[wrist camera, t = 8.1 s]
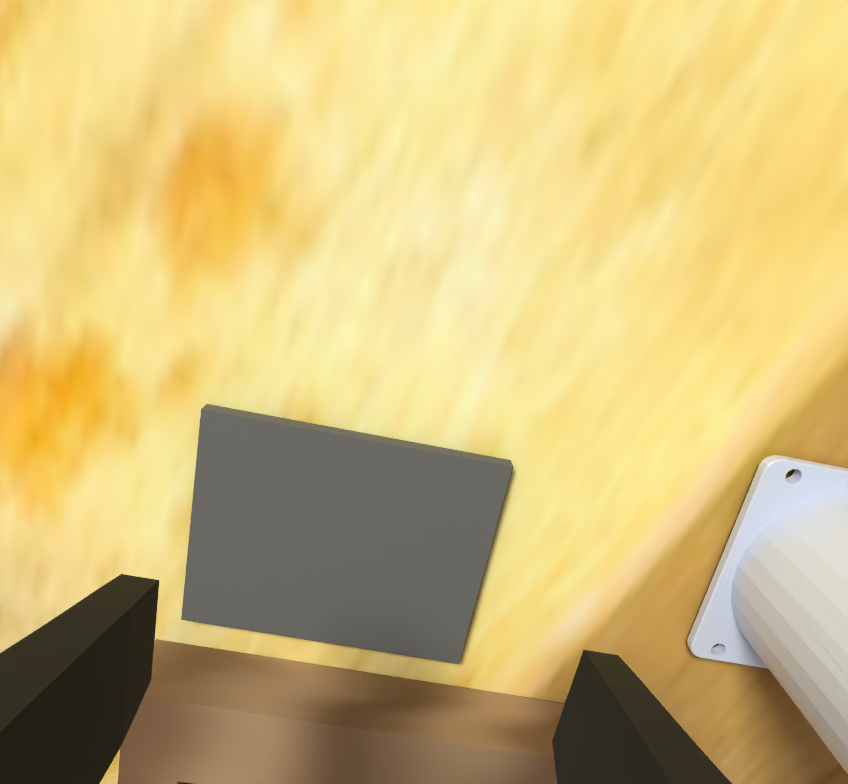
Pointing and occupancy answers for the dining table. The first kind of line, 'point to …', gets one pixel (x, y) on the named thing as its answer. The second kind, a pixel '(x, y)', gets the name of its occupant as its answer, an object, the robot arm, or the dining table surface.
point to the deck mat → (338, 534)
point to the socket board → (326, 726)
